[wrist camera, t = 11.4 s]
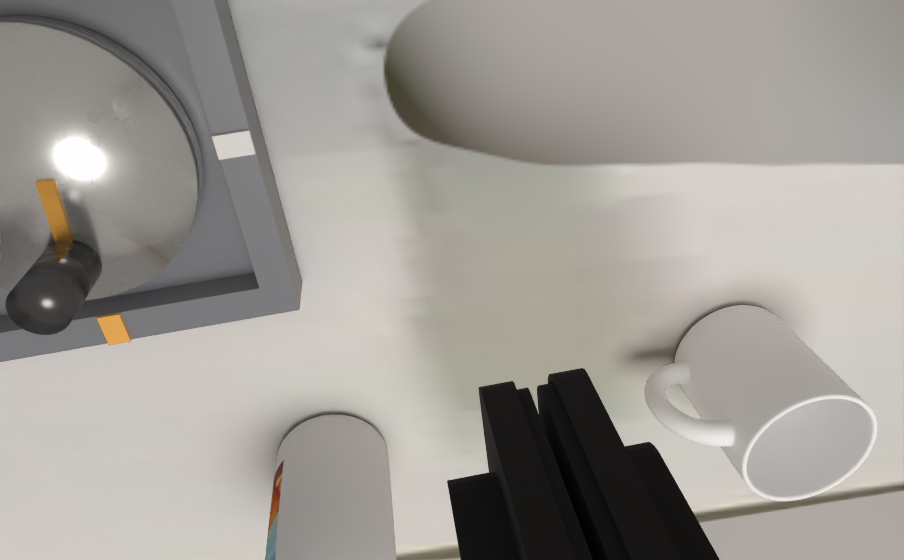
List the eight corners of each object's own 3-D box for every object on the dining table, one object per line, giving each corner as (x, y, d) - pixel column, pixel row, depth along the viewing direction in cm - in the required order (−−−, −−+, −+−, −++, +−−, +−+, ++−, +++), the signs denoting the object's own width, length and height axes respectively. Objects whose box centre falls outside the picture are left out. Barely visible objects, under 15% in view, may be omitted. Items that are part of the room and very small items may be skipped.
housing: (-251, -26, 30) (-315, -17, 27) (202, -89, 32) (188, -87, 29) (-36, 340, 40) (-66, 375, 37) (302, 282, 42) (299, 312, 39)
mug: (611, 402, 50) (670, 512, 41) (630, 305, 46) (699, 404, 37) (764, 391, 52) (852, 496, 43) (795, 297, 48) (898, 390, 39)
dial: (172, 10, 32) (136, 35, 26) (225, 272, 39) (205, 336, 33) (-154, 21, 30) (-266, 49, 25) (-39, 291, 37) (-106, 362, 32)
